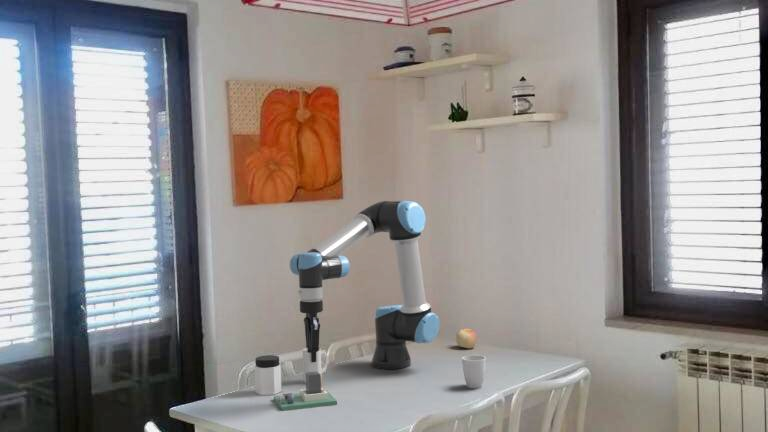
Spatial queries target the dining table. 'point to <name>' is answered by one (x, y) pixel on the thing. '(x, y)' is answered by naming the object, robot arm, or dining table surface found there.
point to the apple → (466, 338)
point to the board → (304, 400)
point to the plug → (313, 383)
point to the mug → (319, 362)
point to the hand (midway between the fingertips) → (313, 371)
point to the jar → (267, 375)
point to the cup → (474, 370)
